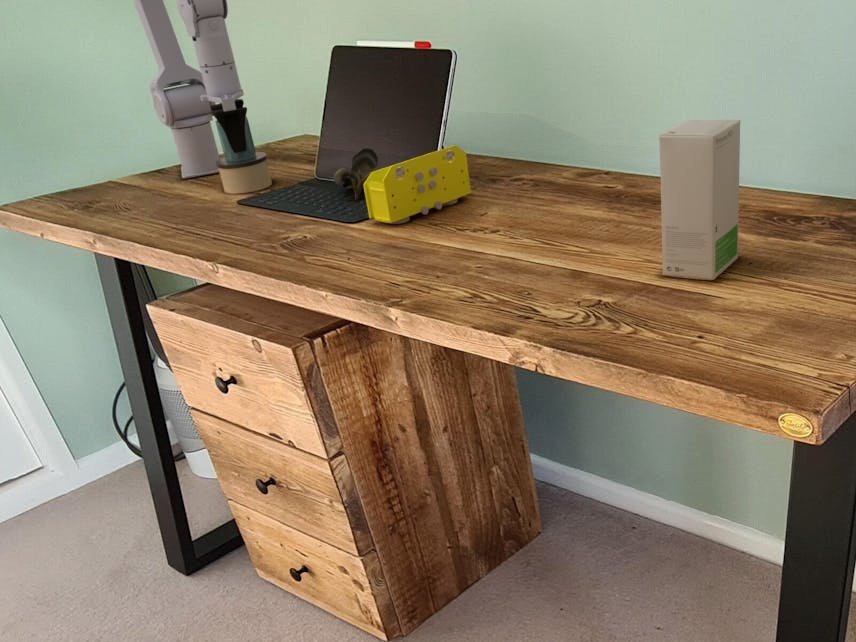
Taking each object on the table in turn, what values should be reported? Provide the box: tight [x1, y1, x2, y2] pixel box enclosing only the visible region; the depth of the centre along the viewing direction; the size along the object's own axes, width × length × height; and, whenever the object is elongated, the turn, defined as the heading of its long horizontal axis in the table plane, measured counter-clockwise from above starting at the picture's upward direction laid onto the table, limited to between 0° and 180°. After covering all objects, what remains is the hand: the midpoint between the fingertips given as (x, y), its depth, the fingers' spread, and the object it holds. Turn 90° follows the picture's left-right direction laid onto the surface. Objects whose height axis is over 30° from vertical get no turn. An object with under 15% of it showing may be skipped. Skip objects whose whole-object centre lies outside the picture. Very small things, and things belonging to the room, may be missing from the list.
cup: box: [215, 115, 257, 162], centre depth 155 cm, size 5×5×6 cm
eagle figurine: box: [333, 147, 379, 201], centre depth 146 cm, size 8×7×9 cm
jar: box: [216, 151, 273, 195], centre depth 158 cm, size 9×9×5 cm
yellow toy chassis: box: [363, 144, 472, 225], centre depth 133 cm, size 16×6×8 cm, turn 137°
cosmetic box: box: [658, 119, 741, 281], centre depth 99 cm, size 8×7×16 cm
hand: (238, 148), depth 156 cm, fingers closed on cup, 5 cm apart
